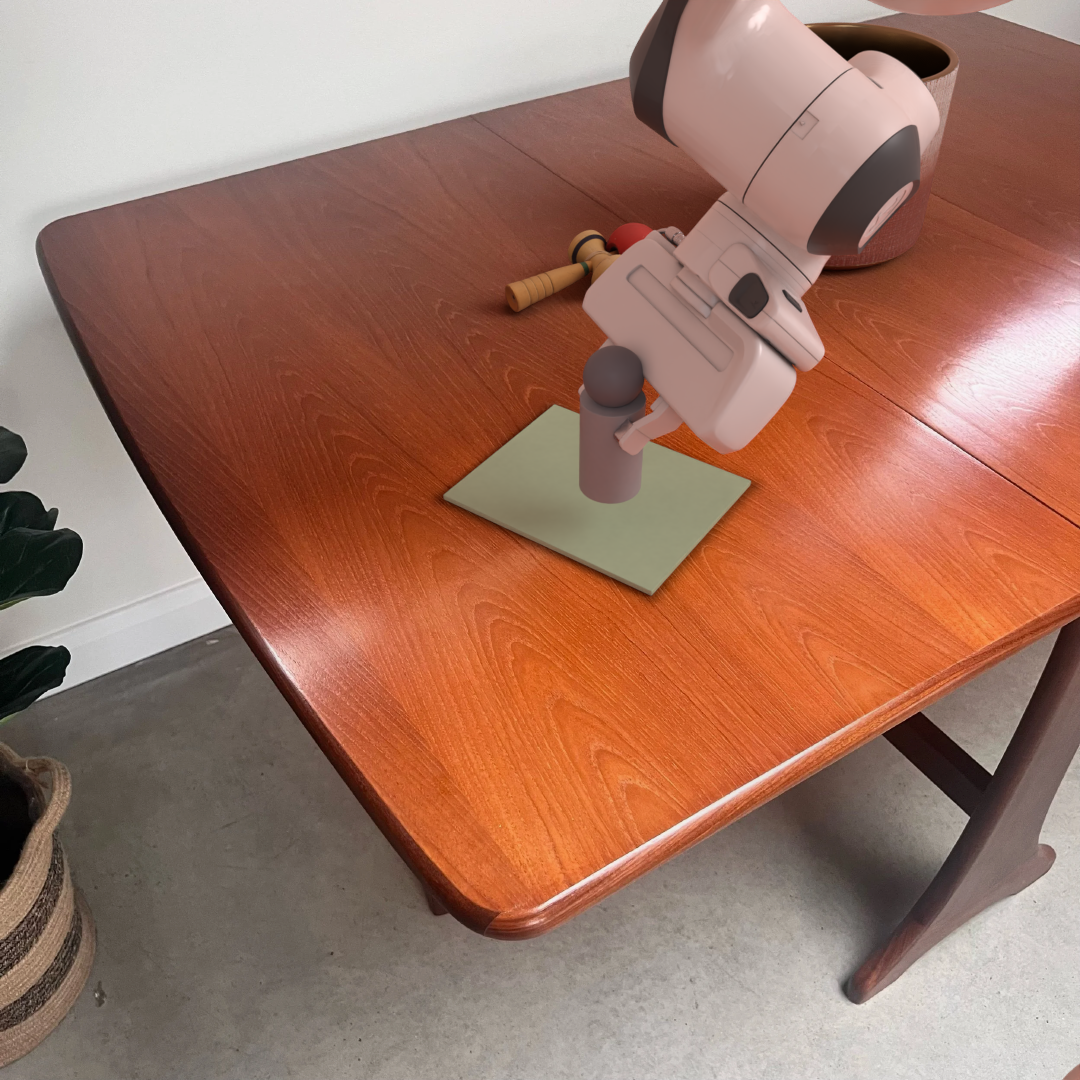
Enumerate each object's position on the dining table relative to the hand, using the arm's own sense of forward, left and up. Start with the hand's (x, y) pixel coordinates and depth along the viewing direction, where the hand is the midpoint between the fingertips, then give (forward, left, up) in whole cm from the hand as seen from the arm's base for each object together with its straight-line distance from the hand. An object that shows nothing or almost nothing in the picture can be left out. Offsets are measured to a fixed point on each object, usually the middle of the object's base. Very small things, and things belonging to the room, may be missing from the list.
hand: (604, 424), depth 77 cm
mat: (+3, -4, -10) cm, 11 cm away
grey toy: (0, -1, -6) cm, 6 cm away
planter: (+8, -59, -10) cm, 60 cm away
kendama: (+23, -32, -10) cm, 40 cm away
